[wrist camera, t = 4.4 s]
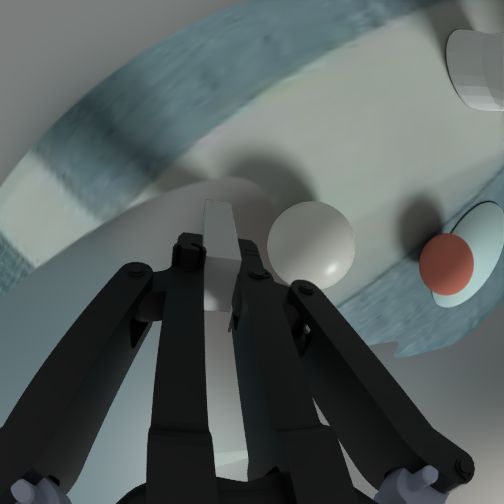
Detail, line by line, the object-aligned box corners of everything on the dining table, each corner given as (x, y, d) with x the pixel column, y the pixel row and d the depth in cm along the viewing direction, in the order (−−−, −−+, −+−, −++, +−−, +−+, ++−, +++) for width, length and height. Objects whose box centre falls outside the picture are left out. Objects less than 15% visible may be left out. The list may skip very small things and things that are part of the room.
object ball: (439, 211, 21) (480, 240, 16) (454, 246, 23) (487, 275, 18) (400, 252, 22) (436, 289, 18) (418, 282, 25) (449, 317, 20)
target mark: (495, 176, 20) (496, 177, 20) (508, 251, 26) (509, 251, 26) (416, 268, 24) (417, 269, 23) (445, 321, 30) (446, 322, 30)
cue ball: (301, 173, 18) (336, 202, 13) (348, 224, 20) (385, 263, 15) (243, 231, 19) (256, 277, 14) (295, 273, 22) (318, 321, 17)
